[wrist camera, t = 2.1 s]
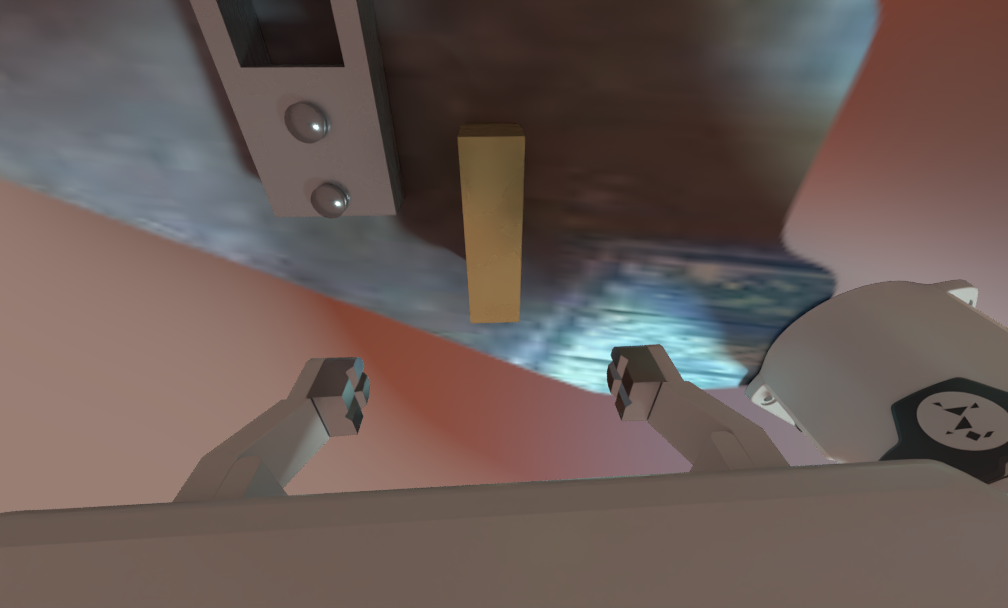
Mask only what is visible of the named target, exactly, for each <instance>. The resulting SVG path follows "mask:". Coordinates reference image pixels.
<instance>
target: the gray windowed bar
mask: <svg viewBox="0 0 1008 608" xmlns="http://www.w3.org/2000/svg"><path fill="white" fill-rule="evenodd" d="M330 1H331V6H332V10H333V15H334V20H335V24H336V29H337V33H338V38H339V42H340V47H341V51H342V56H343V61H344V64H271V61H270V58H269V55H268V52H267V49H266V45H265V42H264V39H263V36H262V33H261V30H260V27H259V24H258V20H257V17H256V14H255V11H254V8H253V5H252V2H251V0H190V3H191V5H192V8H193V10H194V13H195V15H196V18H197V20H198V23H199V25H200V28H201V30H202V33H203V35H204V38H205V40H206V43H207V45H208V48H209V51H210V53H211V56H212V58H213V61H214V63H215V66H216V68H217V71H218V73H219V76H220V78H221V81H222V83H223V86H224V88H225V91H226V93H227V96H228V98H229V101H230V103H231V106H232V108H233V111H234V113H235V116H236V118H237V121H238V124H239V126H240V129H241V131H242V134H243V136H244V139H245V141H246V144H247V146H248V149H249V151H250V154H251V156H252V159H253V161H254V164H255V166H256V169H257V171H258V174H259V176H260V179H261V181H262V184H263V186H264V189H265V192H266V194H267V197H268V199H269V202H270V204H271V207H272V209H273V212H274V214H275V217H304V216H324V217H326V218H337V217H339V216H362V215H396V214H397V213H398V211H399V209H400V207H401V205H402V203H403V201H404V199H405V192H404V186H403V180H402V174H401V168H400V162H399V156H398V150H397V144H396V138H395V132H394V126H393V120H392V114H391V108H390V102H389V96H388V90H387V84H386V78H385V71H384V65H383V59H382V53H381V47H380V41H379V35H378V29H377V23H376V17H375V11H374V5H373V0H330Z"/></svg>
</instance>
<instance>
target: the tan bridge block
mask: <svg viewBox="0 0 1008 608" xmlns="http://www.w3.org/2000/svg"><path fill="white" fill-rule="evenodd" d="M458 151H459V165H460V179H461V193H462V207H463V221H464V235H465V249H466V263H467V277H468V290H469V304H470V318H471V323H496V322H519V318H520V286H521V255H522V223H523V191H524V160H525V135H524V132H523V130H522V128H521V125H516V123H468V124H465V125H461V127H460V130H459V134H458Z"/></svg>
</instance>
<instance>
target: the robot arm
mask: <svg viewBox="0 0 1008 608" xmlns="http://www.w3.org/2000/svg"><path fill="white" fill-rule="evenodd" d="M977 296H978V289H977V288H976V287H975V286H973V285H972V284H970V283H969V282H967V281H965V280H952V281H945V282H940V283H935V284H919V283H914V282H908V281H888V282H880V283H875V284H871V285H866V286H862V287H859V288H856V289H853V290H850V291H847V292H845V293H842V294H840V295H838V296H836V297H833V298H831V299H829V300H827V301H825V302H824V303H822V304H820V305H818V306H816V307H815V308H813V309H812V310H810V311H808V312H807V313H806V314H804V315H803V316H801V317H800V318H799V319H797V320H796V321H795V322H794V323H792V324H791V325H790V326H789V327H788V328H787V329H786V330H785V331H784V332H783V333H782V334H781V335H780V336H779V337H778V338H777V339H776V341H775V342H774V343H773V345H772V346H771V348H770V349H769V351H768V353H767V355H766V357H765V360H764V363H763V366H762V368H761V371H760V372H759V374H758V375H757V376H756V377H755V378H754V379H753V380H752V382H751V383H750V384H749V385H748V386H747V388H746V390H745V395H746V396H747V397H748V398H749V399H750V400H751V401H752V402H753V403H755V404H757V405H758V406H760V407H762V408H764V409H765V410H767V411H769V412H771V413H773V414H774V415H776V416H778V417H779V418H781V419H783V420H785V421H787V422H788V423H790V424H792V425H794V426H796V427H797V428H798V429H799V430H800V431H801V432H803V433H804V434H805V435H806V436H807V437H808V438H809V440H810V441H811V442H812V443H813V444H814V445H815V447H816V448H817V449H818V450H819V451H820V452H821V454H822V455H823V456H824V457H825V458H827V459H828V460H835V461H836V462H837V463H839V464H822V465H805V466H790V465H789V464H788V462H787V461H786V460H785V458H784V457H783V455H782V454H781V453H780V451H779V450H778V449H777V447H776V446H775V445H774V443H773V442H772V441H771V439H770V438H769V436H768V435H767V434H766V432H765V431H764V430H763V428H761V427H760V426H758V425H756V424H755V423H753V422H752V421H750V420H749V419H747V418H746V417H744V416H742V415H741V414H739V413H738V412H736V411H735V410H733V409H731V408H730V407H728V406H727V405H725V404H724V403H722V402H720V401H719V400H717V399H716V398H714V397H713V396H711V395H710V394H708V393H706V392H705V391H703V390H702V389H700V388H699V387H697V386H695V385H694V384H692V383H691V382H689V381H684V380H683V379H682V377H681V375H680V374H679V372H678V370H677V369H676V367H675V366H674V364H673V362H672V361H671V359H670V358H669V356H668V354H667V353H666V351H665V350H664V348H663V346H661V345H660V344H657V345H644V346H643V345H640V346H619V347H614V348H613V349H612V352H611V357H612V360H613V361H612V362H611V363H610V364H609V365H608V369H607V383H608V387H609V390H610V393H611V394H613V395H614V396H615V397H616V402H615V406H616V408H617V411H618V413H619V416H620V418H621V421H648V423H649V424H650V425H651V426H652V427H653V428H654V429H655V430H657V431H658V432H659V433H660V434H661V435H662V436H663V437H664V438H665V439H666V440H667V441H668V442H669V443H670V444H671V445H672V446H673V447H674V448H676V449H677V450H678V451H679V452H680V453H681V454H682V455H683V456H684V457H685V458H686V459H687V460H688V461H689V462H690V463H691V464H692V465H693V467H692V468H691V470H690V472H684V473H667V474H650V475H633V476H617V477H600V478H584V479H583V478H582V479H566V480H548V481H531V482H514V483H497V484H480V485H465V486H464V485H463V486H445V487H430V488H429V487H428V488H410V489H393V490H378V491H377V490H376V491H360V492H341V493H324V494H307V495H291V496H288V495H287V493H286V492H285V491H284V489H283V488H284V487H285V486H286V485H287V483H289V482H290V480H291V479H292V478H293V477H294V476H295V475H296V474H297V473H298V472H299V471H300V470H301V469H302V467H304V465H305V464H306V463H307V462H308V461H309V460H310V459H311V458H312V457H313V455H315V454H316V453H317V451H318V450H319V449H320V448H321V447H322V446H323V445H324V444H325V443H326V442H327V440H328V439H329V437H332V436H346V435H357V434H358V432H359V429H360V425H361V422H362V419H363V414H362V411H361V409H362V408H364V407H365V406H366V405H367V403H368V399H369V393H370V385H369V379H368V376H367V375H366V374H365V373H363V372H362V371H363V368H364V364H363V361H362V359H361V358H359V357H349V358H312V359H310V360H308V361H307V362H306V364H305V366H304V368H303V370H302V372H301V374H300V375H299V377H298V379H297V381H296V383H295V385H294V387H293V388H292V390H291V392H290V394H289V396H288V398H287V399H286V400H281V401H279V402H278V403H277V404H275V405H274V406H272V407H271V408H270V409H268V410H267V411H265V412H264V413H263V414H261V415H260V416H258V417H257V418H256V419H254V420H253V421H252V422H250V423H249V424H247V425H246V426H245V427H243V428H242V429H241V430H239V431H238V432H236V433H235V434H234V435H233V436H231V437H230V438H228V439H227V440H225V441H224V442H223V443H221V444H220V445H219V446H217V447H216V448H214V449H213V450H212V451H211V452H209V453H207V454H206V455H205V456H203V457H202V458H201V460H200V461H199V463H198V464H197V466H196V467H195V469H194V470H193V472H192V473H191V475H190V476H189V478H188V479H187V481H186V482H185V484H184V485H183V487H182V488H181V490H180V491H179V493H178V494H177V496H176V497H175V499H174V500H173V502H169V503H152V504H136V505H117V506H100V507H83V508H66V509H49V510H24V511H12V512H4V513H0V608H1008V328H1007V327H1005V326H1003V325H1002V324H1000V323H998V322H997V321H995V320H994V319H992V318H990V317H989V316H987V315H985V314H983V313H982V312H981V311H979V310H977V309H976V308H975V307H976V302H977Z"/></svg>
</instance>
